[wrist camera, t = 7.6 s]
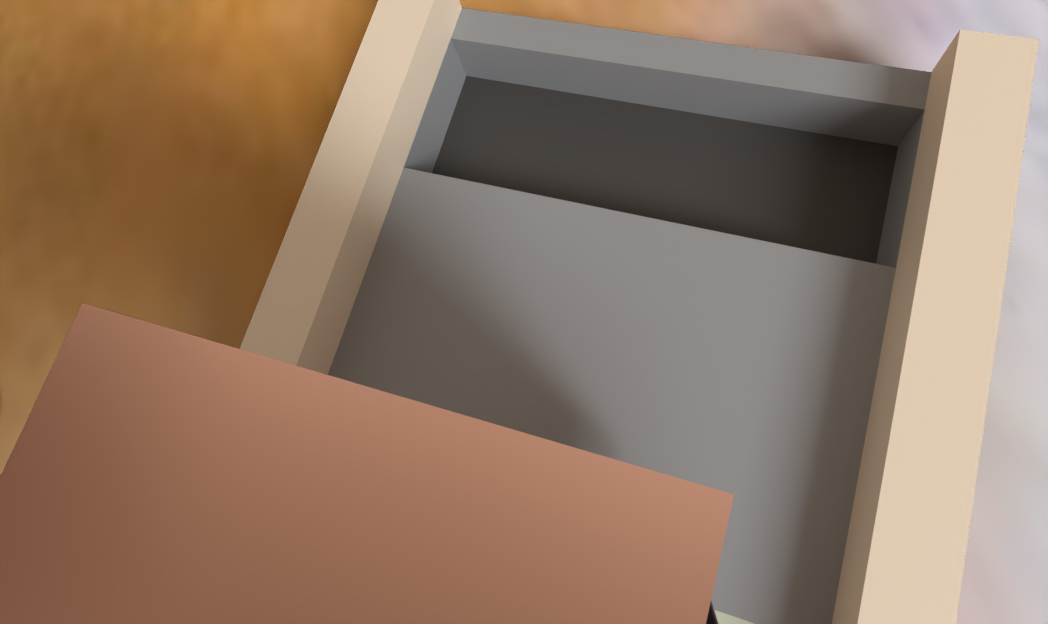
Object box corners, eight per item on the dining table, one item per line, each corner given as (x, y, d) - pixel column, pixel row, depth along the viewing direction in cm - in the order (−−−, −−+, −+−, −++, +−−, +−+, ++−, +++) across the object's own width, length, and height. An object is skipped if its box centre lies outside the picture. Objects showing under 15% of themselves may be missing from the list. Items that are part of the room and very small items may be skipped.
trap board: (770, 1285, 12) (819, 1584, 9) (112, 914, 16) (-31, 1026, 12) (962, 128, 17) (1038, 39, 14) (434, 46, 21) (394, -40, 17)
